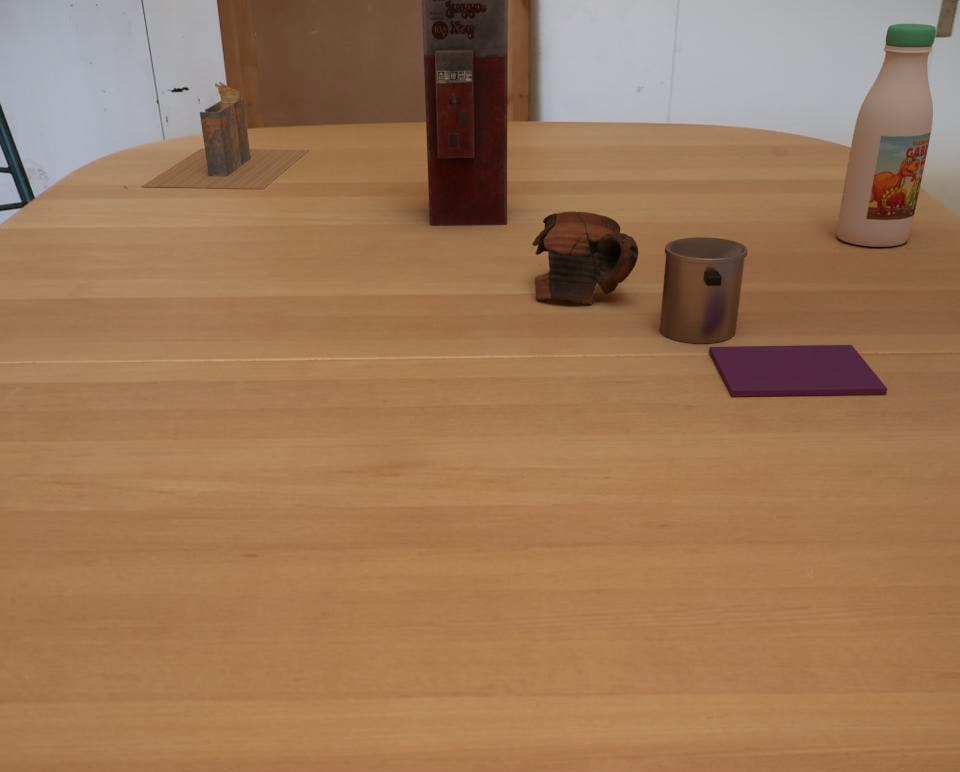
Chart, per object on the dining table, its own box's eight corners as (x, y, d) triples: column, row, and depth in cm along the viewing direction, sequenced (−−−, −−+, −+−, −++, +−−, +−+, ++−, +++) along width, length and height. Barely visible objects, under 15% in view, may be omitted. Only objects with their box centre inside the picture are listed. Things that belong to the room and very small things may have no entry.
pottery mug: (505, 301, 108) (515, 212, 107) (566, 325, 115) (576, 242, 114) (605, 291, 100) (618, 195, 99) (664, 318, 107) (676, 228, 106)
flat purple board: (850, 350, 95) (851, 344, 95) (886, 394, 87) (887, 388, 87) (708, 352, 95) (709, 346, 94) (731, 396, 87) (732, 390, 86)
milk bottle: (832, 245, 121) (869, 28, 109) (837, 228, 127) (873, 20, 115) (907, 251, 119) (954, 30, 107) (909, 233, 125) (953, 22, 113)
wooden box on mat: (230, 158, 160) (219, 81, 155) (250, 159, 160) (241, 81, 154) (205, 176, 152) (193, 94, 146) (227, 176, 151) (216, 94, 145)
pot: (726, 313, 103) (735, 232, 99) (747, 349, 95) (758, 263, 91) (650, 314, 103) (657, 233, 99) (666, 350, 95) (673, 264, 91)
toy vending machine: (428, 230, 128) (417, -71, 111) (432, 206, 137) (423, -76, 120) (507, 229, 128) (508, -72, 111) (506, 205, 136) (507, -77, 120)
